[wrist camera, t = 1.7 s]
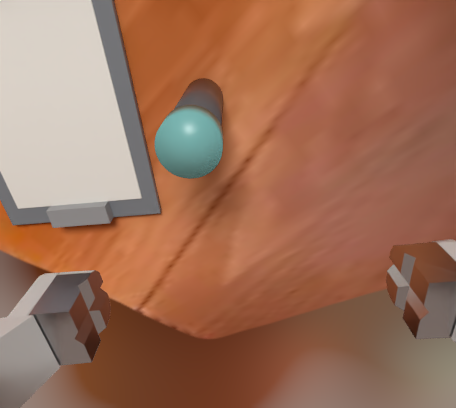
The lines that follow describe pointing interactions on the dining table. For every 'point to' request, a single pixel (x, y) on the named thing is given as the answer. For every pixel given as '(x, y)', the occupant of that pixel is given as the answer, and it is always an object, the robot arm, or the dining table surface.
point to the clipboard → (69, 117)
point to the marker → (193, 132)
